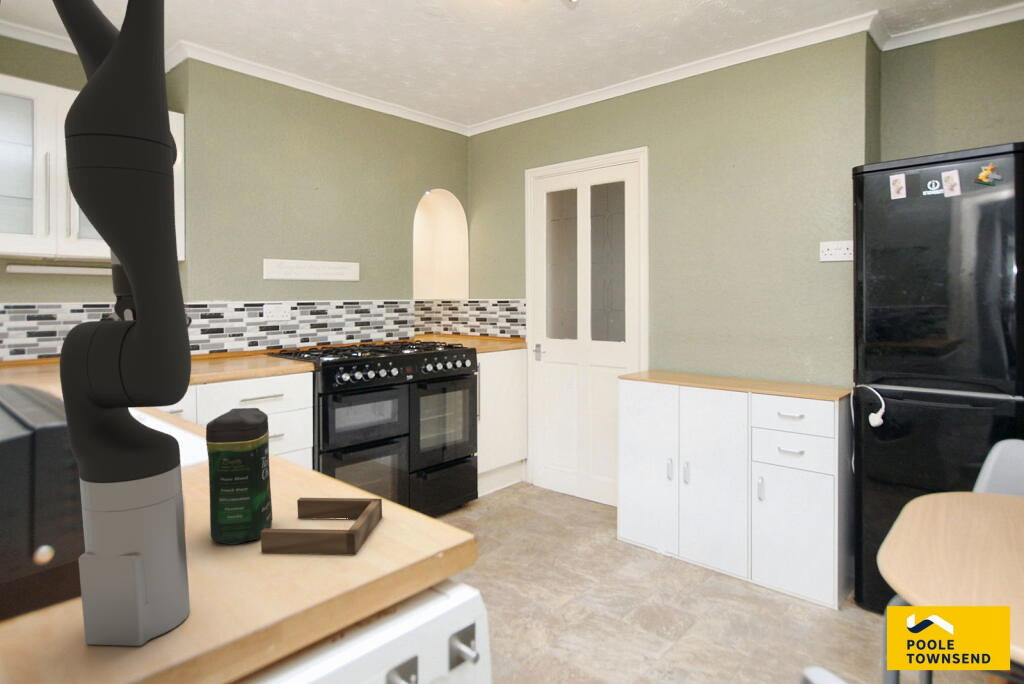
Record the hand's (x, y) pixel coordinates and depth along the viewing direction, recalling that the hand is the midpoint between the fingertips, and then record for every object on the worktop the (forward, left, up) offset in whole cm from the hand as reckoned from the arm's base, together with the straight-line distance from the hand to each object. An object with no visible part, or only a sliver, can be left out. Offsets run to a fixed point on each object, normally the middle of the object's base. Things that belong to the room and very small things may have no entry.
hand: (150, 380), depth 89 cm
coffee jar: (0, -13, -23) cm, 27 cm away
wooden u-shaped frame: (0, -25, -23) cm, 34 cm away
